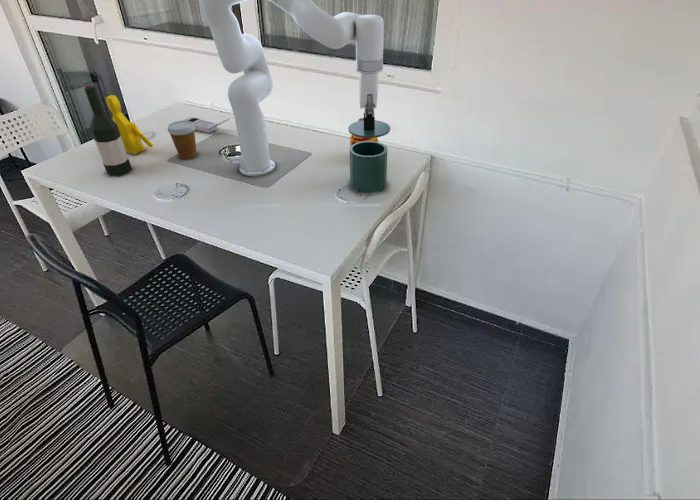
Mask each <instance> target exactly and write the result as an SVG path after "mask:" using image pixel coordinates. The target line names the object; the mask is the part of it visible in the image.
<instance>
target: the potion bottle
mask: <svg viewBox="0 0 700 500" xmlns="http://www.w3.org/2000/svg"><path fill="white" fill-rule="evenodd" d="M362 120H364V117H360V118H358V120H357V121H362ZM349 140H350V142H349V143H350V144H349V147H351V146H352V145H353V144H355V143H357V142H363V141H374V142H379V137H376V138H362V137H357V136H354V135H352V134H351V135H350V137H349Z"/></svg>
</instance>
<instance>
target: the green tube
mask: <svg viewBox="0 0 700 500" xmlns="http://www.w3.org/2000/svg"><path fill="white" fill-rule="evenodd" d="M387 172H388V147H387V145H385V144H384V143H382V142H379V141H378V142H374V141H363V142H357V143H355V144H353V145H352V146H349V186H350V187H351V188H352V190H353V191H356V192H359V193H362V194H363V193H365V194H373V193H381V192H383V191H385V189H386V187H387V176H388V175H387V174H388V173H387Z"/></svg>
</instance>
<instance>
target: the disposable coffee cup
mask: <svg viewBox="0 0 700 500" xmlns="http://www.w3.org/2000/svg"><path fill="white" fill-rule="evenodd" d="M195 131H196V130H195V126H194V125H193V123H192V122H191V121H183V120H177V121H173V122H170V123H169V124H168V126H167V132H168V134H169V135H170V138H171V140H172V143H173V145H174V148H175V150H176V152H177V154H178V157H179V159H181V160H190V159H193V158H195V157H197V155H198V153H197V143H196V134H195V133H196V132H195Z"/></svg>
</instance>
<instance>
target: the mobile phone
mask: <svg viewBox="0 0 700 500" xmlns="http://www.w3.org/2000/svg"><path fill="white" fill-rule="evenodd" d="M182 121H191V122H192V123H193V125H194V126H195V130H194V131H198V132H203V133H209V134H210V133H212V132H214V131H216V130H218V126H220V125H222V124H224V123H225V122H228V121H230V117H228V118H226V119H225V120H222V121H221V122H219V123H217V122H213V121H208V120H204V119H201V118H198V117H187V118H184V119H182Z"/></svg>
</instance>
